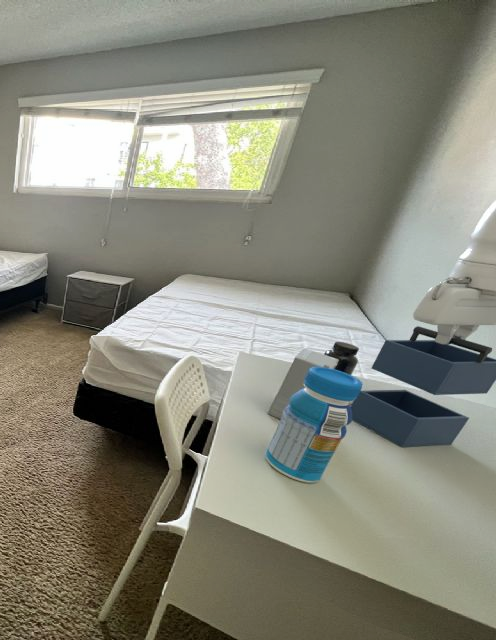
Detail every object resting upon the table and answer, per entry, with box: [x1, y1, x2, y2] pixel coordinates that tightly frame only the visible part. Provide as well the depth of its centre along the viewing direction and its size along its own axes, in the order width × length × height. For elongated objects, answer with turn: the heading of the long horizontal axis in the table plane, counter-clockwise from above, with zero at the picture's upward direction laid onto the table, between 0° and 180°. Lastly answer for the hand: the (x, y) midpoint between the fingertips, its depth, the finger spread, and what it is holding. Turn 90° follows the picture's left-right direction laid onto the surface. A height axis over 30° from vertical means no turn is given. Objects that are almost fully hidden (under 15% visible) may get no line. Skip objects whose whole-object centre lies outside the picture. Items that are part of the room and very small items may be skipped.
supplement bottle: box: [323, 341, 360, 376], centre depth 97 cm, size 7×7×12 cm
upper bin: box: [371, 325, 496, 396], centre depth 73 cm, size 13×11×10 cm
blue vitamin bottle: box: [265, 367, 363, 484], centre depth 62 cm, size 8×8×20 cm
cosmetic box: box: [267, 348, 339, 420], centre depth 79 cm, size 8×7×16 cm
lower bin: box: [350, 389, 470, 448], centre depth 78 cm, size 13×11×7 cm
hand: (447, 343), depth 72 cm, fingers closed on upper bin
